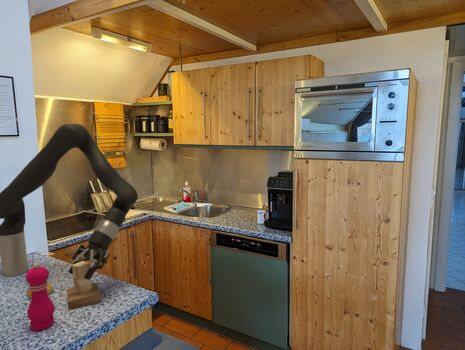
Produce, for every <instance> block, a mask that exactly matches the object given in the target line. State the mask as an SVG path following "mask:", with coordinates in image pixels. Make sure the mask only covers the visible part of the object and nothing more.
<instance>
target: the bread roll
mask: <svg viewBox="0 0 465 350" xmlns="http://www.w3.org/2000/svg"><path fill="white" fill-rule="evenodd" d="M53 291H54V286H53V285H52V283H50V282H49V281H48V286H47V294H48V296H49V295H51V294H52V293H53ZM26 294H27V297H28V298H29V299H31V291H30V290H29V287H28V288H27V289H26Z"/></svg>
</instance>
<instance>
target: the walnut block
mask: <svg viewBox="0 0 465 350" xmlns="http://www.w3.org/2000/svg"><path fill="white" fill-rule="evenodd" d="M91 284H92V290H91V291H89V292H87V293H85V294H83V295H80V294H77V293H75V292H74V287H69V288H66V297H67V305H68V311H70V310H74V309H79V308H83V307H86V306H87V307H88V306H92V305H96V304H99V303H102V298H101V296H102V295H101V292H100V288H99V286H98V283H97V282H96V281H95V282H91Z"/></svg>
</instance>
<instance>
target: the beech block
mask: <svg viewBox="0 0 465 350" xmlns="http://www.w3.org/2000/svg"><path fill="white" fill-rule="evenodd" d="M71 266H72V268H73V274H72V276H73V277H72V278H73V288H74V292H75V293H77V294H80V295H83V294H85V293H87V292H89V291H91V290H92V277H91V278H90V280H87V279H85V278H84V276H85V274H86V272H87V271H88V269H89V267H90V268H91V262H87V261H85V262H84V261H81V262H79V263H76V264H74V265H73V264H72V265H71Z"/></svg>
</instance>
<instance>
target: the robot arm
mask: <svg viewBox="0 0 465 350" xmlns="http://www.w3.org/2000/svg"><path fill="white" fill-rule="evenodd" d="M73 149H78V150H80V151H81V152H82V153H83V155H84V156H85V157H86V158H87V160H88V163H89V164H90V166H91V169H92V171H93V173H94V175H95V177H96V178H97V179H98V180H99V182H100V183H101V184H102V185H103V186H104V187H105V188H106V189H107V190H109V191H112V193H114V194H115V195H116V197H115V199H114V201H113V203H112V204H111V207H110V208H109V209H108V210H107V212H106V213H105V215H104V217H102V220H100V222H99V223H98V224H97V226H96V227H95V229H94V230H93V232H92V234H91V235H90V237H89V238H88V241H87V242H88V245H86V246H85V245H84V244H80V246H79V247H78V249H77V250H76V251H75V252H74V254H73V256H72V257H71V259H72V261H73V263H72V265H74V264H76V263H79V262H81V261H84V262H87V261H89V262H90V267H89V269H88V271H87V272H86V274H85V276H84V278H85V279H87V280H90V278H91V279H92V277H93V276H94V274H95V272H96V271H98V270H101V271H102V269H103V268H104V266H105V265H106V262H107V261H108V258H109V257H110V253H109V252H108V250H109V248H110V246H111V245H112V243H113V241H114V239H115V238H116V236H117V234H118V232H119V230H120V228H121V226H122V225H123V223H124V222H125V220H126V215H128V213H129V212H130V210H131V208H132V207H133V206H134V205H135V204H136V202H137V200H138V199H139V195H138V192H137V190H136V189H135V187H133V186H132V185H131V183H129V182H128V181H127V180H125V179H124V178H123V177H122V176H121V175H120V174H119V173H118V171H117V170H116V168H114V167H113V166H112V164H111V163H110V162H109V161H108V159H107V158H106V156H105V155H104V154H103V153H102V151H101V149H100V148H99V146H98V145H97V144H96V142H95V140H94V139H93V137H92V135H91V133H90V132H89V130H88V129H87V128H86V127H85V126H84V125H82V124H78V123H65V124H62V125H61V126H59V127H58V128H57V129H56V130H55V132H54V133H53V135H51V138H50V139H49V140H48V141H47V143H46V144H45V145H44V146H43V148H42V149H41V150H40V151H39V152H38V153H37V154H36V155H35V156H34V157H33V158H32V159H31V160H30V161H29V162H28V163H27V164H26V165H25V166H24V168H23V169H21V170H20V172H19V173H18V174H17V175H16V176H15V178H14V179H12V180H11V182H10V183H9V184H8V185H7V186H6V187H5V188H4V189H3V190H2V191H1V192H0V220H3V221H2V223H1V224H0V268H1V274H2V276H3V277H15V276H18V275H22V274H24V273H27V272H28V271H29V266H28V265H29V264H28V253H27V247H26V237H25V236H26V235H25V225H26V207H25V202H24V198H25V197H26V196H29V195H30V194H32V193H33V192H35V191H36V190H38V189H39V188H40V187H42V186H43V185H44V184H46V182H47V181H49V179H50V178H51V177H52V176H53V175H54V173H55V171H56V169H57V166H58V164H59V162H60V160H61V159H62V158H63V157H64V156H65V155H66V154H67V153H68V152H69V151H70V150H73ZM72 265H71V266H70V268H69V269H68V273H69V274H71V275H73V268H72Z"/></svg>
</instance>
